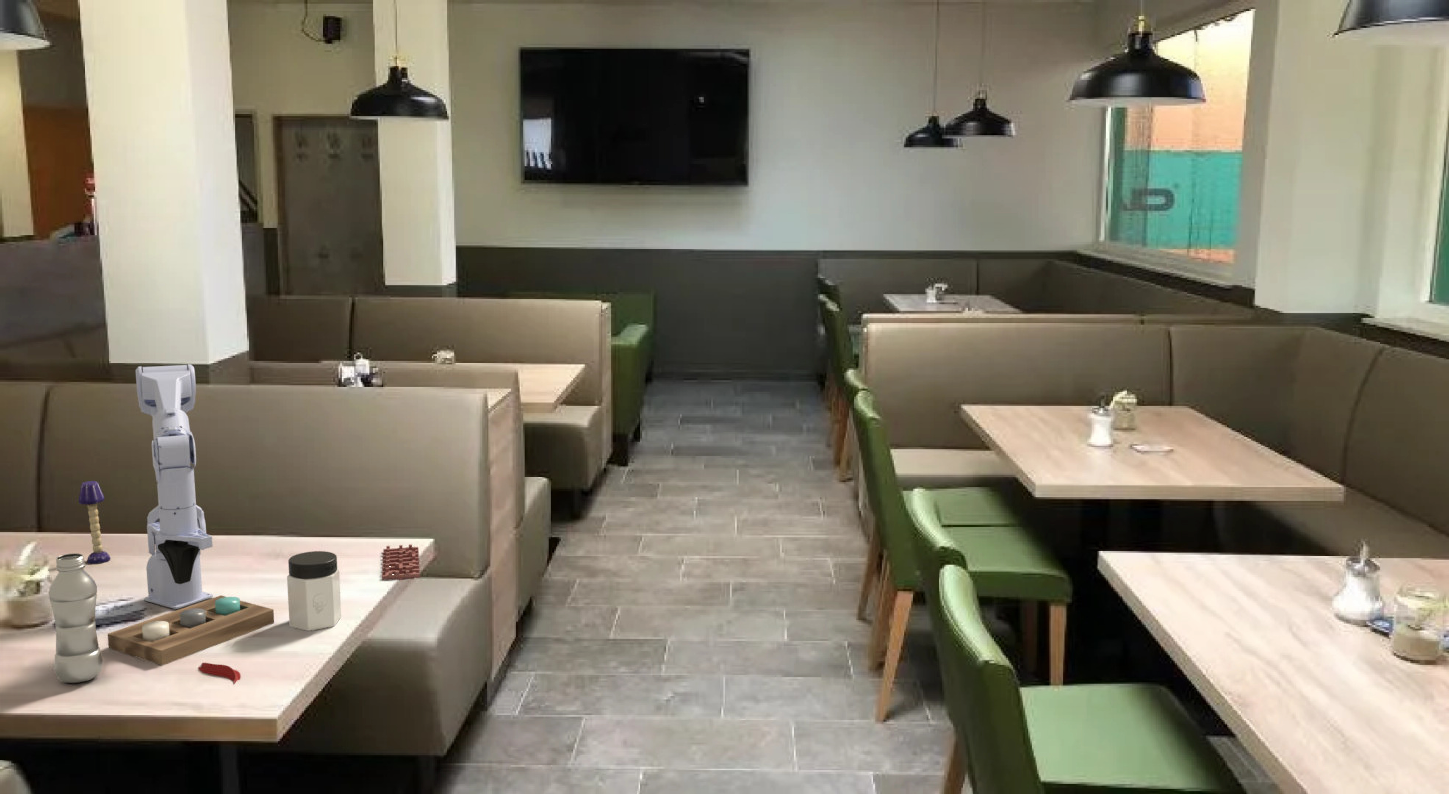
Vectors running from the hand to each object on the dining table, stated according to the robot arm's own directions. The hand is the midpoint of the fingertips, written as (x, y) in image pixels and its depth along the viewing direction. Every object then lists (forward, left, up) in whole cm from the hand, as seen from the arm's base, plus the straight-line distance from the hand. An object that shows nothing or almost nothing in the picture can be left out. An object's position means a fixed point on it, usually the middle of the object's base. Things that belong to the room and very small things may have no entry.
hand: (182, 582), depth 198 cm
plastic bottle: (+2, -20, -10) cm, 23 cm away
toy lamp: (-51, +17, -10) cm, 55 cm away
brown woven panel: (+4, +47, -10) cm, 49 cm away
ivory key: (+1, -6, -8) cm, 10 cm away
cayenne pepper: (+19, -8, -10) cm, 22 cm away
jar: (+14, +16, -10) cm, 23 cm away
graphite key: (+1, +1, -8) cm, 8 cm away
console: (+1, +1, -10) cm, 10 cm away
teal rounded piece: (+1, +8, -8) cm, 11 cm away
